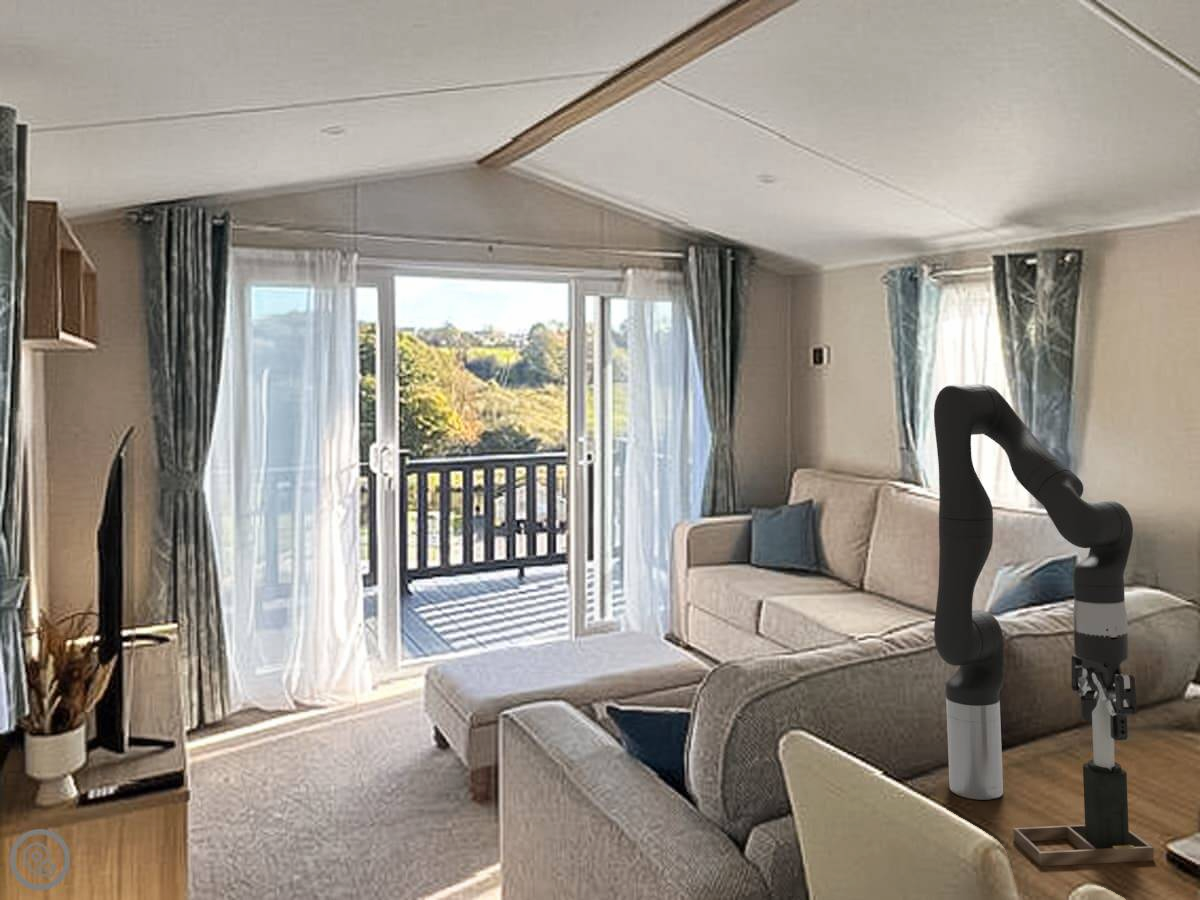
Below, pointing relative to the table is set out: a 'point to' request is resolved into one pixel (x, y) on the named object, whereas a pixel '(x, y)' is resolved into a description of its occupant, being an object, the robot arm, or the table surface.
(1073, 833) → the divided wooden tray
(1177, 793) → the table surface
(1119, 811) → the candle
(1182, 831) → the table surface
